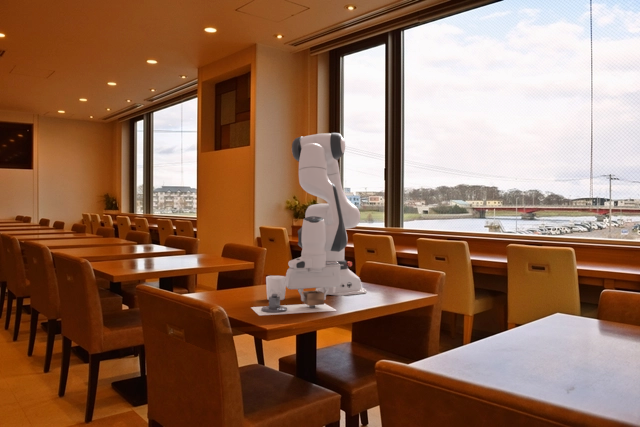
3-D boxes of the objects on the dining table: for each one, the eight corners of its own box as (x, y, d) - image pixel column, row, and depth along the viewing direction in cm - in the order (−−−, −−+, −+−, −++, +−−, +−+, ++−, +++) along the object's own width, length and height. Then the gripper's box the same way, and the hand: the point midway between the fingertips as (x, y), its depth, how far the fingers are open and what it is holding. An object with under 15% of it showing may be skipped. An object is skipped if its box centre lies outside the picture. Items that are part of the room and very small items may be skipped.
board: (323, 306, 194) (323, 303, 194) (337, 314, 181) (337, 310, 181) (250, 311, 185) (250, 307, 184) (259, 319, 171) (259, 315, 171)
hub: (283, 306, 186) (283, 291, 186) (290, 311, 177) (290, 295, 177) (258, 308, 183) (259, 292, 183) (264, 313, 174) (264, 296, 174)
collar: (318, 301, 189) (318, 290, 189) (324, 304, 183) (324, 293, 183) (302, 302, 187) (302, 291, 187) (308, 305, 181) (308, 294, 181)
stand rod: (314, 306, 186) (314, 293, 186) (316, 308, 184) (316, 294, 184) (308, 307, 186) (308, 293, 185) (310, 308, 183) (310, 294, 183)
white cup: (290, 302, 202) (290, 277, 202) (275, 305, 196) (275, 279, 196) (276, 299, 208) (276, 274, 207) (261, 302, 202) (261, 276, 202)
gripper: (337, 259, 191) (336, 296, 192) (284, 261, 184) (284, 300, 185) (343, 261, 185) (343, 300, 186) (289, 264, 178) (288, 303, 179)
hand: (313, 300), depth 185 cm, fingers closed on collar, 6 cm apart
